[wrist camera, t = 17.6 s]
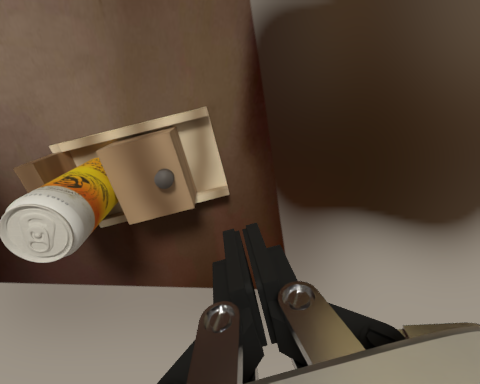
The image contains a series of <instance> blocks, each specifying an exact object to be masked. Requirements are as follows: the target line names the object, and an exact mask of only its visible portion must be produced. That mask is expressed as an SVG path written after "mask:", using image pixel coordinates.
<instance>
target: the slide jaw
mask: <svg viewBox="0 0 480 384" xmlns="http://www.w3.org/2000/svg"><path fill="white" fill-rule="evenodd" d="M96 153H97V155H98V157H99V159H100V162H101V164H102V166H103V168H104V170H105V172H106V175H107V177H108V179H109V181H110V183H111V186H112V188H113V190H114V192H115V194H116V196H117V199H118V201H119V203H120V205H121V207H122V210H123V212H124V214H125V216H126V218H127V220H128V223H129V225H131V224H135V223H139V222H143V221H146V220H150V219H154V218H158V217H162V216H166V215H170V214H173V213H177V212H181V211H185V210H189V209H193V208H195V200H196V192H197V190H196V187H195V184H194V181H193V178H192V174H191V171H190V168H189V165H188V162H187V159H186V156H185V153H184V149H183V146H182V143H181V140H180V137H179V134H178V131H177V128H176V126H175V127H171V128H167V129H163V130H159V131H155V132H151V133H147V134H143V135H139V136H135V137H131V138H127V139H123V140H119V141H115V142H113V143H111V144H109V145H107V146H105V147H103V148H101V149H99V150H97V151H96Z"/></svg>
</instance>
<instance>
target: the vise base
mask: <svg viewBox="0 0 480 384" xmlns="http://www.w3.org/2000/svg"><path fill="white" fill-rule="evenodd" d="M175 126H176V128H177V131H178V134H179V137H180V140H181V143H182V146H183V149H184V153H185V156H186V159H187V162H188V165H189V168H190V171H191V174H192V178H193V181H194V184H195V187H196V190H197V192H196V200H195V203H199V202H203V201H207V200H211V199H215V198H219V197H222V196H226V195H230V194H229V190H228V186H227V182H226V178H225V174H224V171H223V167H222V163H221V159H220V156H219V152H218V148H217V144H216V141H215V137H214V133H213V129H212V126H211V122H210V118H209V114H208V111H207V107H202V108H198V109H194V110H190V111H186V112H182V113H178V114H174V115H170V116H166V117H162V118H158V119H154V120H150V121H146V122H142V123H138V124H134V125H130V126H126V127H122V128H118V129H114V130H110V131H106V132H102V133H98V134H94V135H90V136H86V137H82V138H78V139H74V140H70V141H66V142H62V143H58V144H54V145H51V146H49V147H50V149H51V151H52V153H53V154H50V155H48V156H45V157H42V158H40V159H37V160H34V161H31V162H29V163H26V164H23V165H21V166H18V167H15V168H13V169H14V171H15V172H16V174H17V176H18V177H19V179H20V181H21V182H22V184H23V185H24V187H25V189H26V190H27V192H28V193H30V192H31V191H33V190H35V189H37V188H39V187H41V186H43V185H44V184H46V183H48V182H50V181H52V180H54V179H56V178H57V177H59V176H61V175H63V174H65V173H67V172H69V171H70V170H72V169H74V168H76V167H78V166H80V165H82V164H83V163H85V162H87V161H89V160H91V159H94V158H99V157H98V155H97V153H96V151H97V150H99V149H101V148H103V147H105V146H107V145H109V144H111V143H113V142H115V141H119V140H123V139H127V138H131V137H135V136H139V135H143V134H147V133H151V132H155V131H159V130H163V129H167V128H171V127H175ZM126 221H128V220H127V218H126V216H125V214H124V212H123V210H122V207H121V205H120V203H119V201H118V203H117V204H116V205H115V206H114V207H113V208H112V210H111V211H110V212H109V213H108V214H107V215H106V217H105V218H104V219H103V220H102V221H101V222H100V224H99V225H100V227H101V228H103V227H107V226H110V225H114V224H118V223H122V222H126Z"/></svg>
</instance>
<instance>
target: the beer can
mask: <svg viewBox="0 0 480 384" xmlns="http://www.w3.org/2000/svg"><path fill="white" fill-rule="evenodd" d="M117 203H118V199H117V196H116V194H115V192H114V190H113V188H112V186H111V183H110V181H109V179H108V177H107V175H106V172H105V170H104V168H103V166H102V164H101V162H100V159H99V158H94V159H91V160H89V161H87V162H85V163H83V164H82V165H80V166H78V167H76V168H74V169H72V170H70V171H69V172H67V173H65V174H63V175H61V176H59V177H57V178H56V179H54V180H52V181H50V182H48V183H46V184H44V185H43V186H41V187H39V188H37V189H35V190H33V191H31V192H30V193H28V194H26V195H24V196H22V197H20V198H18V199H17V200H15V201H14V202H12V203H11V204H10V205H9V206H8V208H7V209H6V211H5V214H4V215H3V216H2V218H1V220H0V238H1V240H2V242H3V243H4V245H5V246H6V247H7V248H8V249H9V250H10V251H11V252H12V253H14V254H15V255H17V256H19V257H21V258H23V259H25V260H28V261H32V262H38V263H47V262H53V261H56V260H59V259H61V258H62V257H65V256H68V255H70V254H72V253H73V252H75V251H76V250H77V249H78V248H79V247H80V246H81V245H82V243H83V242H84V241H85V240H86V239H87V238H88V236H89V235H90V234H91V233H92V232H93V231H94V229H95V228H96V227H97V226H98V225H99V224H100V222H101V221H102V220H103V219H104V218H105V217H106V215H107V214H108V213H109V212H110V211H111V210H112V208H113V207H114V206H115V205H116V204H117Z"/></svg>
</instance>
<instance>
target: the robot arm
mask: <svg viewBox="0 0 480 384" xmlns="http://www.w3.org/2000/svg"><path fill="white" fill-rule="evenodd" d="M243 234H244V238H245V242H246V246H247V250H248V254H249V258H250V262H251V266H252V270H253V274H254V278H255V282H256V286H257V290H258V294H259V297H260V301H261V305H262V309H263V313H264V316H265V320H266V324H267V328H268V332H269V336H270V339H271V343H272V344H274V343H277V344H278V348H279V352H281V353H283V354H285V355H287V356H288V357H290V358H291V360H292V363H293V366H294V368H295V370H291V371H288V372H284V373H281V374H277V375H273V376H270V377H266V378H263V379H259V380H258V371H257V366H258V364H259V362H260V361H261V359H262V357H263V356H264V353H263V348H262V347H263V346H266V345H267V341H266V337H265V333H264V329H263V325H262V320H261V316H260V312H259V308H258V303H257V300H256V295H255V291H254V286H253V282H252V278H251V274H250V270H249V267H248V263H247V259H246V256H245V252H244V248H243V244H242V241H241V237H240V233H239V231H234V229H231V230H227V231H223V239H224V249H225V258H226V259H224V260H220V261H217V262H213V305H211V306H209V307H208V308H207V309H206V310H205V311H204V312H203V314H202V315H201V318H200V320H199V325H198V330H197V335H196V340H195V341H194V342H193V343H192V344H191V345H190V346H189V348H188V349H187V350H186V351H185V352H184V353H183V355H182V356H181V357H180V358H179V359H178V360H177V361H176V362H175V364H174V365H173V366H172V367H171V368H170V369H169V371H168V372H167V373H166V374H165V375H164V376H163V377H162V379H161V380H160V381H159V382H158V383H157V384H480V325H479V324H477V323H445V324H424V325H403V329H395V328H394V327H392V326H390V325H388V324H386V323H383V322H380V321H378V320H375V319H372V318H369V317H366V316H364V315H361V314H358V313H355V312H353V311H350V310H347V309H344V308H342V307H339V306H336V305H333V304H330V303H328V302H327V301H326V300H325V299H324V297H323V296H322V295H321V294H320V292H319V291H318V290H317V289H316V288H315V287H314V286H313V285H311V284H309V283H307V282H302V281H297V279H296V276H295V274H294V272H293V270H292V268H291V266H290V264H289V262H288V260H287V258H286V256H285V254H284V252H283V250H282V247H281V246H280V245H277V246H273V247H269V248H266V246H265V243H264V241H263V238H262V235H261V233H260V230H259V227H258V225H257V223H254V224H250V225H246V229H243Z"/></svg>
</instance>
